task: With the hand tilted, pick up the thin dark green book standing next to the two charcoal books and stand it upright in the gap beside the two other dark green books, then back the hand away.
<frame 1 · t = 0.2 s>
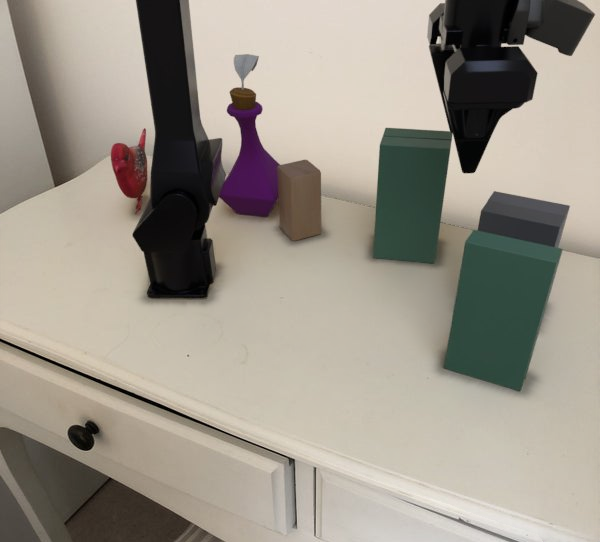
hand: (461, 151, 59), 15 cm above the table, tool pointing down, fingers open, 9 cm apart
wooden block: (300, 232, 78), on the table
green book A: (404, 255, 74), on the table
green book: (484, 372, 58), on the table
decorative bird figurine: (142, 201, 86), on the table
perfume bottle: (256, 209, 83), on the table
charcoal book 1: (499, 313, 65), on the table
charcoal book 2: (505, 302, 66), on the table
green book B: (406, 245, 75), on the table
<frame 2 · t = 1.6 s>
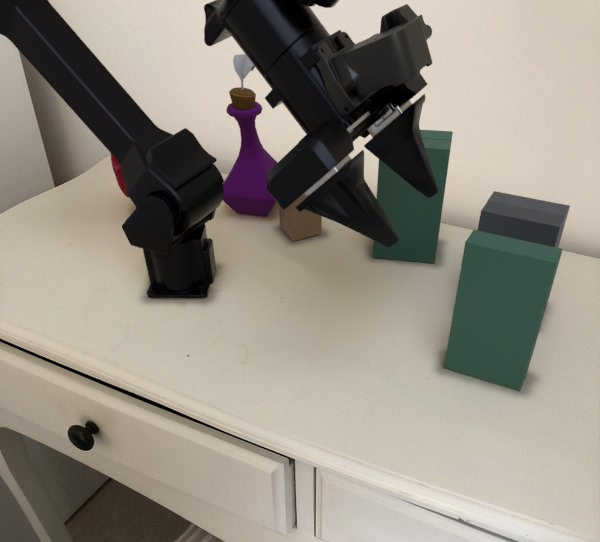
hand: (415, 218, 52), 13 cm above the table, tool tilted 45°, fingers open, 9 cm apart
nothing on the table moved.
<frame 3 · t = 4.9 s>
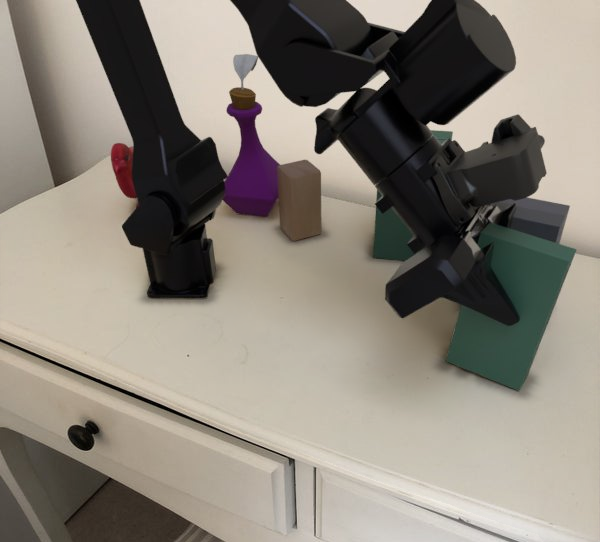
hand: (520, 312, 53), 7 cm above the table, tool tilted 45°, fingers closed on green book, 3 cm apart
green book: (485, 369, 58), on the table, touching gripper
everything else where it was.
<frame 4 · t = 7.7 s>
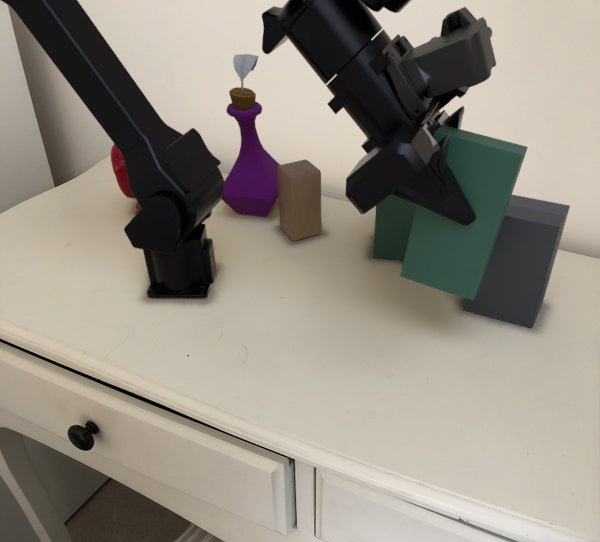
hand: (474, 214, 54), 13 cm above the table, tool tilted 45°, fingers closed on green book, 2 cm apart
green book: (439, 283, 58), point 6 cm above the table, tilted 8°, touching gripper
everything else where it was.
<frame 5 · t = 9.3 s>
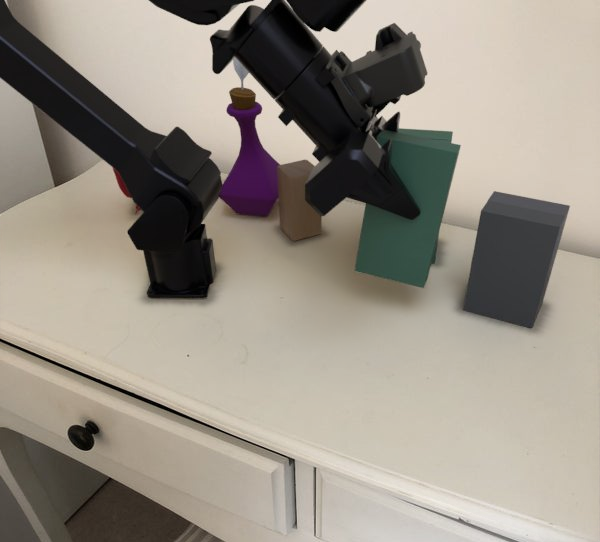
hand: (418, 209, 59), 11 cm above the table, tool tilted 45°, fingers closed on green book, 2 cm apart
green book: (391, 274, 63), point 4 cm above the table, tilted 8°, touching gripper
everything else where it was.
when the fingers open (7 cm above the table, at t = 10.6 s): green book stays where it is, on the table.
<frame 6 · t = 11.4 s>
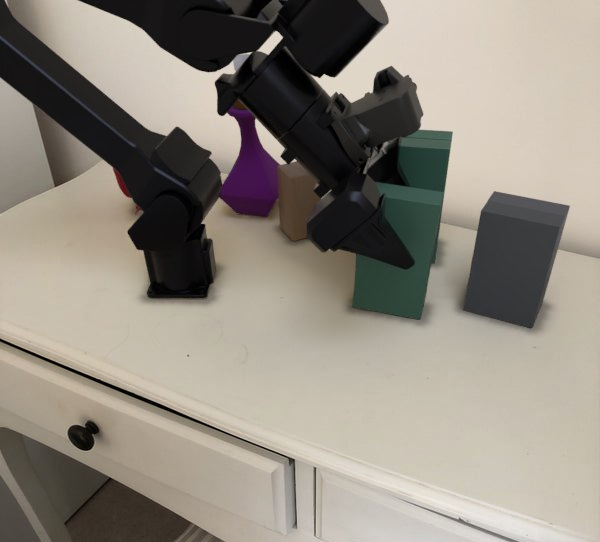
hand: (415, 240, 61), 8 cm above the table, tool tilted 45°, fingers open, 9 cm apart
green book: (388, 306, 66), on the table, tilted 5°
everything else where it was.
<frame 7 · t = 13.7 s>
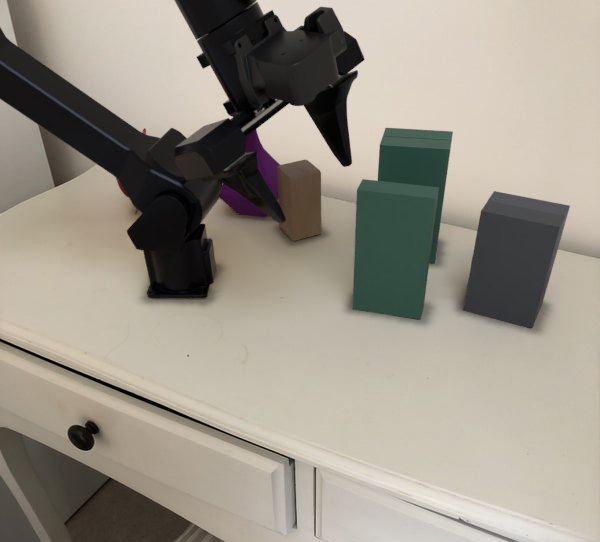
hand: (315, 193, 59), 12 cm above the table, tool tilted 30°, fingers open, 9 cm apart
green book: (387, 308, 66), on the table
everything else where it was.
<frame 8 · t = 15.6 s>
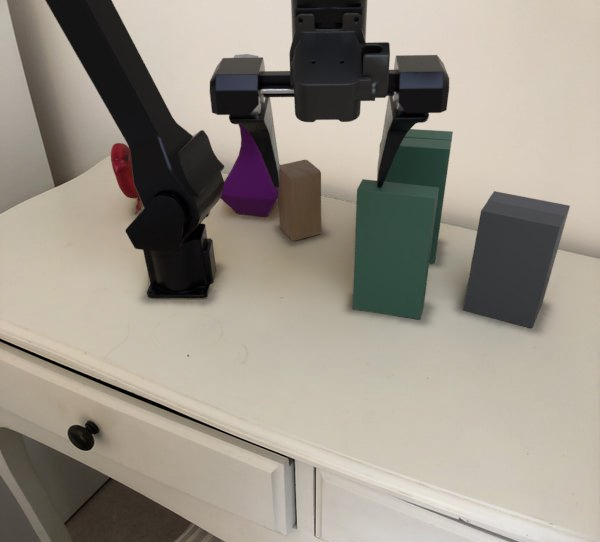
hand: (328, 185, 58), 13 cm above the table, tool pointing down, fingers open, 9 cm apart
green book: (387, 308, 66), on the table, touching gripper
everything else where it was.
at the end: green book 0.9 cm from the target spot, on the table; green book tilted 0°; green book 10.7 cm from the green book A (horizontally) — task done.
